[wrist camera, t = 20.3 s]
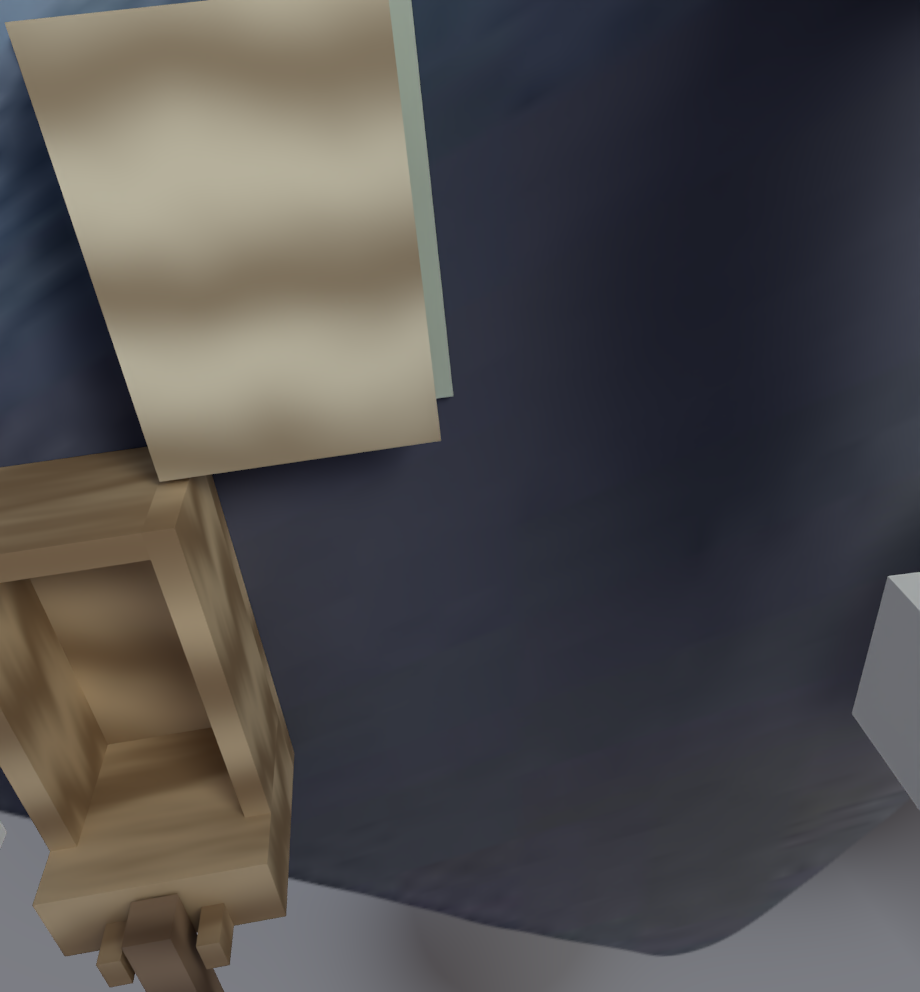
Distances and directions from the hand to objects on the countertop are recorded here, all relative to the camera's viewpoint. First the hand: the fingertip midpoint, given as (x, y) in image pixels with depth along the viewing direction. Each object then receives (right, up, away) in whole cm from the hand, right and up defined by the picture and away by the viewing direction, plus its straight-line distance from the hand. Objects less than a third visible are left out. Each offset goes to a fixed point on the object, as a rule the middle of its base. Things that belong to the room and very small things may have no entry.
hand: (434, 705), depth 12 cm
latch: (-12, -19, +26) cm, 34 cm away
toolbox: (-15, -4, +28) cm, 32 cm away
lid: (-7, +12, +18) cm, 23 cm away
